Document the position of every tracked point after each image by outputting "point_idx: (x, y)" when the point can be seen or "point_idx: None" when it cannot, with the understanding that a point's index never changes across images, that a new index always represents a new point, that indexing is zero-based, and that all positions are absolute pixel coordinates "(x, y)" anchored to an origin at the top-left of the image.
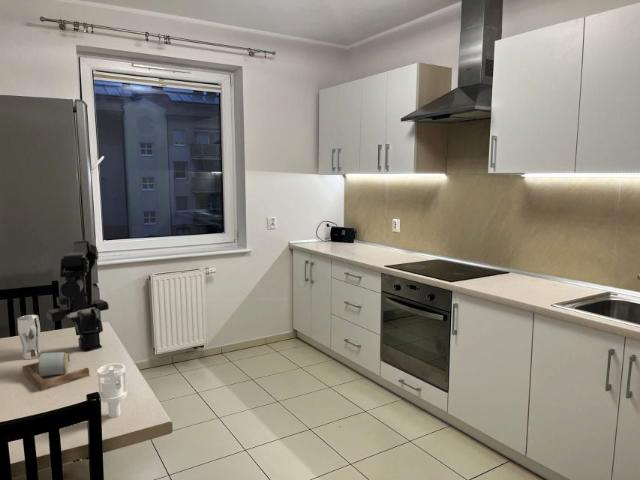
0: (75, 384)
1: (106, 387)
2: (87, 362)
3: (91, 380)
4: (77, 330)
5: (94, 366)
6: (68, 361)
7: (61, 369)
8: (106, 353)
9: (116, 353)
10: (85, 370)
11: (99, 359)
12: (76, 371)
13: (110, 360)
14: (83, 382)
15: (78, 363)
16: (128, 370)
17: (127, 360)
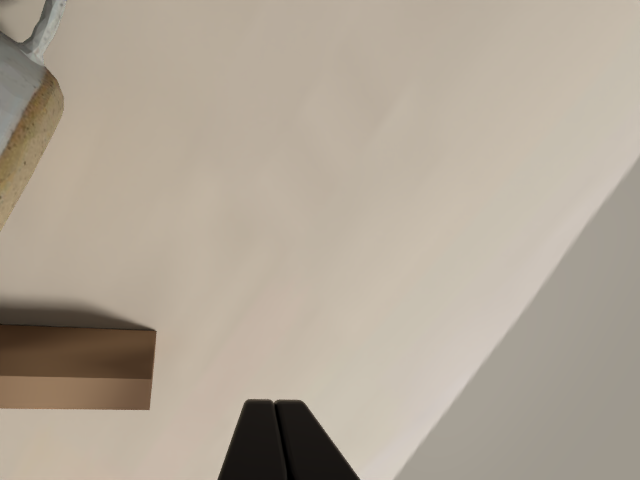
0: (2, 415)
1: None
2: (312, 73)
3: (126, 430)
4: (223, 473)
5: (290, 225)
6: None
7: None
8: (588, 8)
9: (617, 106)
10: (117, 405)
11: (430, 106)
12: (37, 391)
13: (457, 216)
14: (65, 422)
15: (235, 7)
16: (381, 453)
17: (513, 318)
